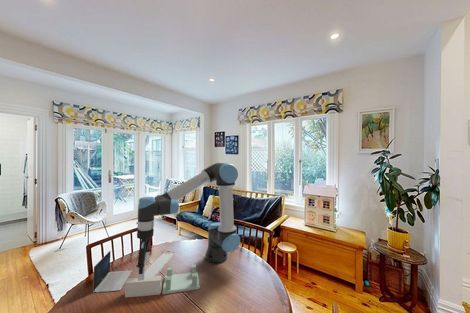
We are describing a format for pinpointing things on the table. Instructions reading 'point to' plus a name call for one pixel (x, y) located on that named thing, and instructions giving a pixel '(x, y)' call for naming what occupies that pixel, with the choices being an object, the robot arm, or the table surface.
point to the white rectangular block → (143, 286)
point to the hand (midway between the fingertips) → (143, 272)
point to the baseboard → (158, 264)
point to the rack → (181, 281)
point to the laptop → (108, 276)
